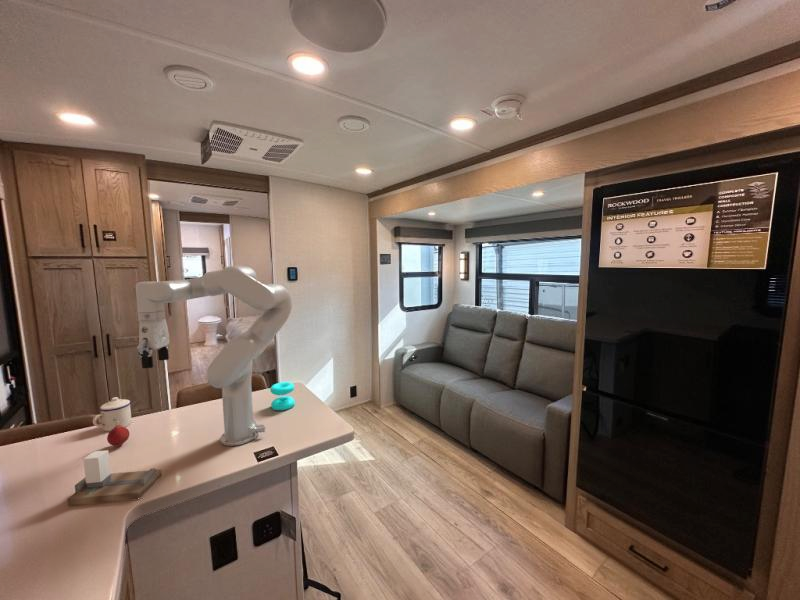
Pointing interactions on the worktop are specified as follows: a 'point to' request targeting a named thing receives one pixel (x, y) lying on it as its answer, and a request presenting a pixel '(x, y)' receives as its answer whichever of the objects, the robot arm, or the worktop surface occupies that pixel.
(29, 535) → the worktop surface
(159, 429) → the worktop surface
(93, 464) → the fader
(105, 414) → the teacup with lid
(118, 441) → the onion
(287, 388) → the donuts
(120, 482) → the wooden slider board
